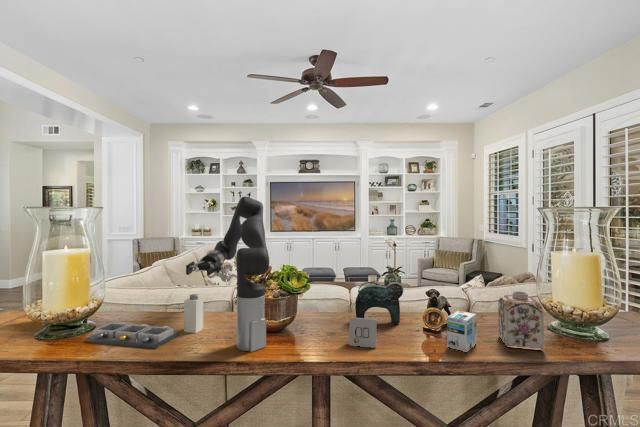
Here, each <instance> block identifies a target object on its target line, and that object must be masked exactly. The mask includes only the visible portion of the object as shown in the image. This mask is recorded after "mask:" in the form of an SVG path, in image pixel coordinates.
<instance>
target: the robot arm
mask: <svg viewBox="0 0 640 427" xmlns="http://www.w3.org/2000/svg"><path fill="white" fill-rule="evenodd" d="M241 217H242V218H243V219H245V220H244V221H243V222H242V223H241ZM240 240H241V242H243V244H244V245H245V246H246V247H240V248H239V249H238V243H239V242H240ZM237 249H238V250H237ZM235 257H236V258H235ZM234 258H235V259H236V260H235V261H236V263H235V264H236V281H237V282H236V348H237V349H238V350H240V351H243V352H244V351H245V352H250V353H251V352H252V353H253V352H255V351H258V350H261V349H263V348H266V347H267V318H265V301H266V300H265V294H266V293H265V287H264V285H262V284H259V283H256V282H254V281H251V280H250V279H249V278H247V276H263V275H265V274H267V273H268V271H269V268H270V256H269V251H268V247H267V243H266V233H265V226H264V205H263V203H262V202H261V201H259V200H256V199H254V198H251V197H249V196H246V195H245V196H242V197H241V198H240V199H239V200H238V202H237V205H236V207H235V210H234V213H233V216H232V218H231V222H230V225H229V227H228V230H227V232H226V233H225V235H224V237H223V240H220V241H218V242H217V243H216V245H215V246H214V250H211V251H210V252H209V253H207V254H206V255H204V256H203V257H202V259H201V260H200V261H199V262H196V263H195V261H191V262H189V263H188V264H186V265H185V274H186V275H188V276H190V275H191V274H192V273H193V272H195V273H197V272H203V271H206V276H207V277H210V276H211V275H212V274H215V273H216V274H218V273H220V272H221V271H223V269H224V268H223V267H224V265H223V264H224V262H225V261H226V260H227V261H230V260H233V259H234Z"/></svg>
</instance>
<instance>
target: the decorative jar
mask: <svg viewBox="0 0 640 427" xmlns="http://www.w3.org/2000/svg"><path fill="white" fill-rule="evenodd" d="M497 308H498V310H497V313H498V315H497V316H498V317H497V318H498V319H497V331H498V336H499V335H500V337H501V338H502V340H503V342H504V343H505V345H506V346H517V347H530V348H541V349H543V350H544V346H545V345H544V344H545V342H544V341H545V339H544V338H545V337H544V336H545V326H544V325H545V324H544V323H545V322H544V321H545V320H544V308H543V306H542V303H541V301H540V300H539V299H537V298H534V297H531V296H529V293H528V292H525V291H521V290H520V291H518V290H515V291H512V294H508V295H502V296H500V298H499V299H498V307H497ZM503 342H502V343H503ZM505 345H504V346H505Z"/></svg>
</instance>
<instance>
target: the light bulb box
mask: <svg viewBox="0 0 640 427" xmlns="http://www.w3.org/2000/svg"><path fill="white" fill-rule="evenodd" d="M477 318H478V315H477V314H476V313H472V312H467V311H463V310H457V311H455V312H453V313H452V314H449V315H447V321H446V322H447V323H446V324H447V326H446V327H447V332H446V333H447V334H446V335H447V338H446V339H447V340H446V341H447V342H446V343H447V344H446V345H447V347H450V348H454V349H459V350H464V351H468V350H469V349H470V348H472V347H473V346H474V345H475V344H476V343H477V344H478V342H477V340H478V339H477V337H478V336H477V334H478V333H477V328H478V326H477V325H478V320H477ZM447 347H446V348H447ZM473 348H474V347H473ZM473 348H472V349H473Z"/></svg>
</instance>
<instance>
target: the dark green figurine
mask: <svg viewBox="0 0 640 427" xmlns="http://www.w3.org/2000/svg"><path fill="white" fill-rule="evenodd" d="M382 276H386V277H387V280H386V282H387V283H385V284H379V283H377V282H374V281H366V282H364V283H362V284H360V286H359V288H358V291H357V296H356V298H355V301H354V303H355V305H354V306H355V307H354V309H355V310H354V311H355V318H365V314H366V312H367V311H368V310H369V309H372V308H380V309H385V310H387V311H388V314H390V319H391V320H390V322H392V323H400V322H401V321H400V320H401V306H400V299H401V297H402V296H403V294H404V286H403V284H402V281H401V279H400V278H399V279H398V280H397V281H390V280H389V276H388V275H387V274H384V273H383V274H381V275H379V278H382ZM366 284H368V285H366ZM370 284H371V285H370ZM365 285H366V286H365ZM392 323H391V324H392ZM400 324H401V323H400Z"/></svg>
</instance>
